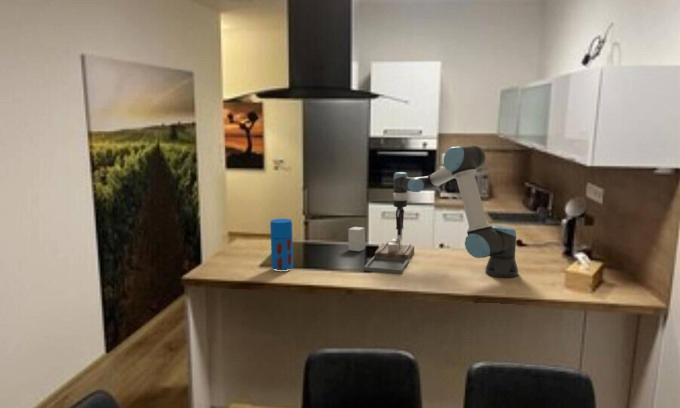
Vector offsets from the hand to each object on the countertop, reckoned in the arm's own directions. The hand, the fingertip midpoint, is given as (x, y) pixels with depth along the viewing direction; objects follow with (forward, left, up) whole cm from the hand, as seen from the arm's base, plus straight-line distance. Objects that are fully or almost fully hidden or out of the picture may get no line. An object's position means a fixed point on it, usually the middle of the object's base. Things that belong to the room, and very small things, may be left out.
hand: (399, 240), depth 288 cm
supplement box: (+24, +5, -6) cm, 25 cm away
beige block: (0, +17, -2) cm, 18 cm away
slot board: (0, +13, -6) cm, 15 cm away
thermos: (+50, +52, -6) cm, 73 cm away
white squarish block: (0, +9, -2) cm, 10 cm away
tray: (0, +34, -6) cm, 34 cm away
